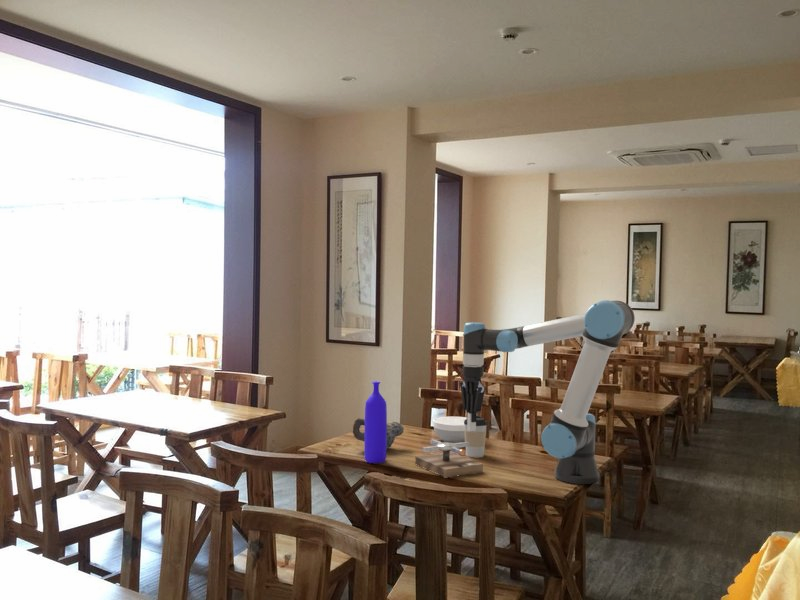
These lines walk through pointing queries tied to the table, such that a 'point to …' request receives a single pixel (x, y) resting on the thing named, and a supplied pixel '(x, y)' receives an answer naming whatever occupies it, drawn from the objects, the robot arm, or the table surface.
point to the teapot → (392, 431)
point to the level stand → (449, 464)
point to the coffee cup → (476, 438)
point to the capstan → (447, 447)
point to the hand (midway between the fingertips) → (471, 430)
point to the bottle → (375, 427)
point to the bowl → (450, 429)
